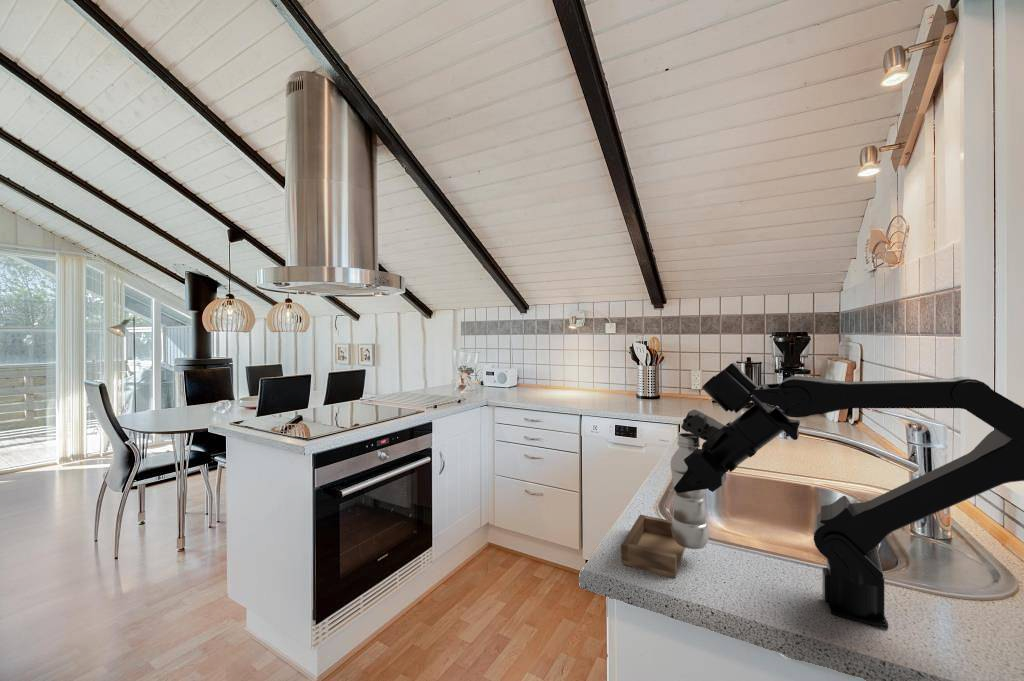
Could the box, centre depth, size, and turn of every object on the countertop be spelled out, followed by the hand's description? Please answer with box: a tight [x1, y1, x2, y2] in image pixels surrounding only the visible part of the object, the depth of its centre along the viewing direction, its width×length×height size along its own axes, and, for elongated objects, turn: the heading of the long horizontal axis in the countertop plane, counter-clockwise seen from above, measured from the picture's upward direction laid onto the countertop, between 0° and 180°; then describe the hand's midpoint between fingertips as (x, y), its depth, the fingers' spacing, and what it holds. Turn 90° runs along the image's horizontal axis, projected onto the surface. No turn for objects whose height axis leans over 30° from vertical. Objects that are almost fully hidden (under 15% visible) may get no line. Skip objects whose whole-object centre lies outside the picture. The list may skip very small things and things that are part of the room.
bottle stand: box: [620, 514, 686, 579], centre depth 80 cm, size 9×14×4 cm, turn 150°
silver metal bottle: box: [669, 432, 710, 550], centre depth 76 cm, size 6×7×20 cm
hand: (681, 485), depth 77 cm, fingers closed on silver metal bottle, 6 cm apart
